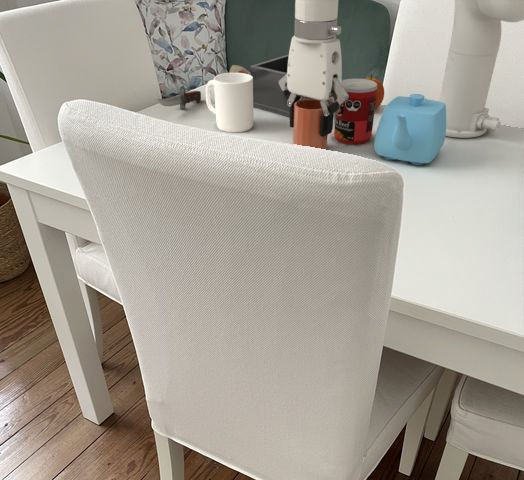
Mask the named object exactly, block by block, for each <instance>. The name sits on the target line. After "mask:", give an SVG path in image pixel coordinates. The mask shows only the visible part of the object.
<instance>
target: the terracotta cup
mask: <svg viewBox="0 0 524 480" xmlns="http://www.w3.org/2000/svg"><path fill="white" fill-rule="evenodd" d="M327 103H328V102H327ZM328 106H329V104H328ZM321 115H324V113H323V110H322V107H321V103H320V100H316V99H303V100H299V101H296V102H295V103H294V121H293V128H292V145H293V144H297V145H302V146H310V147H315V148H321V149H326V150H327V148H328V147H327V146H328V137H329V134H328V135H326V136H324V137H322V136H320V121H321Z"/></svg>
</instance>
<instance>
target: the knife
mask: <svg viewBox="0 0 524 480" xmlns="http://www.w3.org/2000/svg"><path fill="white" fill-rule="evenodd" d="M201 92H202V91H201V90H190V91H187V92H186V88H185V87H180V88H179V94H177V95H173V96H169V97H165V98H156V100H157V102H158V104H160V105H161V106H164V107H175V106H179V107H180V109H181V110H186V105H187V104H190V103H194V102H197V103H199V102H201V101H202V93H201Z"/></svg>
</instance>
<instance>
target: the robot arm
mask: <svg viewBox="0 0 524 480" xmlns="http://www.w3.org/2000/svg"><path fill="white" fill-rule="evenodd" d="M294 3H295V4H294V33H293V34H294V35H293V36H292V37H291V40H290V46H289V51H288V55H289V58H288V68H287V74H286V75H284V76H283V77H282V78H281V79H280V80H279V85H280V87H281V89H282V91H283V94H284V96H285V98H286V99H287V105H288V106H290V117H289V128H291V129H293V121H294V103H295V102H296V101H299V100H301V99H302V97H303V96H304V97H308V98H312V99H316V100H320V103H321V107H322V110H323V113H324V115H321V121H320V136H322V137H324V136H326V135H328V136H329V135H330V134H332V132H333V130H334V119H335V113H336V112H337V110H338V109H339V108H340V107H341V106H342V105H343V104H344V103H345V102H346V101H347V99H348V98H349V95H348V94H347V92H346V91H345V89H344V88H343V86H342V85H341V82H342V80H343V79H342V77H343V76H342V75H343V72H342V71H343V59H342V48H341V41H340V39H339V38H337V36H339V35H341V33H342V27H341V26H339V25H338V13H339V0H295V2H294ZM523 20H524V0H454V13H453V25H452V32H451V37H450V43H449V48H448V53H447V58H446V64H445V69H444V70H445V71H444V75H443V80H442V86H441V91H440V96H439V100H438V101H439V102H443V103H445V105H446V122H447V123H446V136H445V137H450V138H459V139H462V138H463V139H467V138H469V139H470V138H471V139H472V138H476V137H481V136H483V135H485V134H486V133H487V131H488V130H492V131H494V132H495V131H496V132H497V131H498V130H499V128H500V126H501V121H500V118H499V117H495V116H490V115H489V111H490V108H487V107H486V103H487V100H488V95H489V91H490V88H491V83H492V78H493V75H494V70H495V65H496V61H497V57H498V53H499V50H500V46H501V42H502V41H501V40H502V22H506V23H518V22H521V21H523ZM333 96H337V97H338V98H337V100H336V101H334V97H333ZM327 101H328V103H327ZM328 104H329V106H328Z"/></svg>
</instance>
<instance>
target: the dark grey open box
mask: <svg viewBox="0 0 524 480" xmlns="http://www.w3.org/2000/svg"><path fill="white" fill-rule="evenodd" d="M288 58H289V54H285V55H282V56H279V57H275V58H273V59H270V60H266V61H262V62H259V63H256V64H253V65H250V66H249V72H250V75H251V76H252V77H253V108H256V109H259V110H262V111H267V112H271V113H274V114H277V115H281V116H284V117H289V118H290V106H288V105H287V99H286V98H285V96H284V94H283V91H282V89H281V87H280V85H279V80H280V79H281V78H282V77H283V76H284V75H286V74H287V68H288ZM333 97H334V101H336V99H337V96H333ZM303 99H312V98H308V97H304V96H303V97H302V99H301V100H303ZM327 102H328V101H327Z"/></svg>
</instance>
